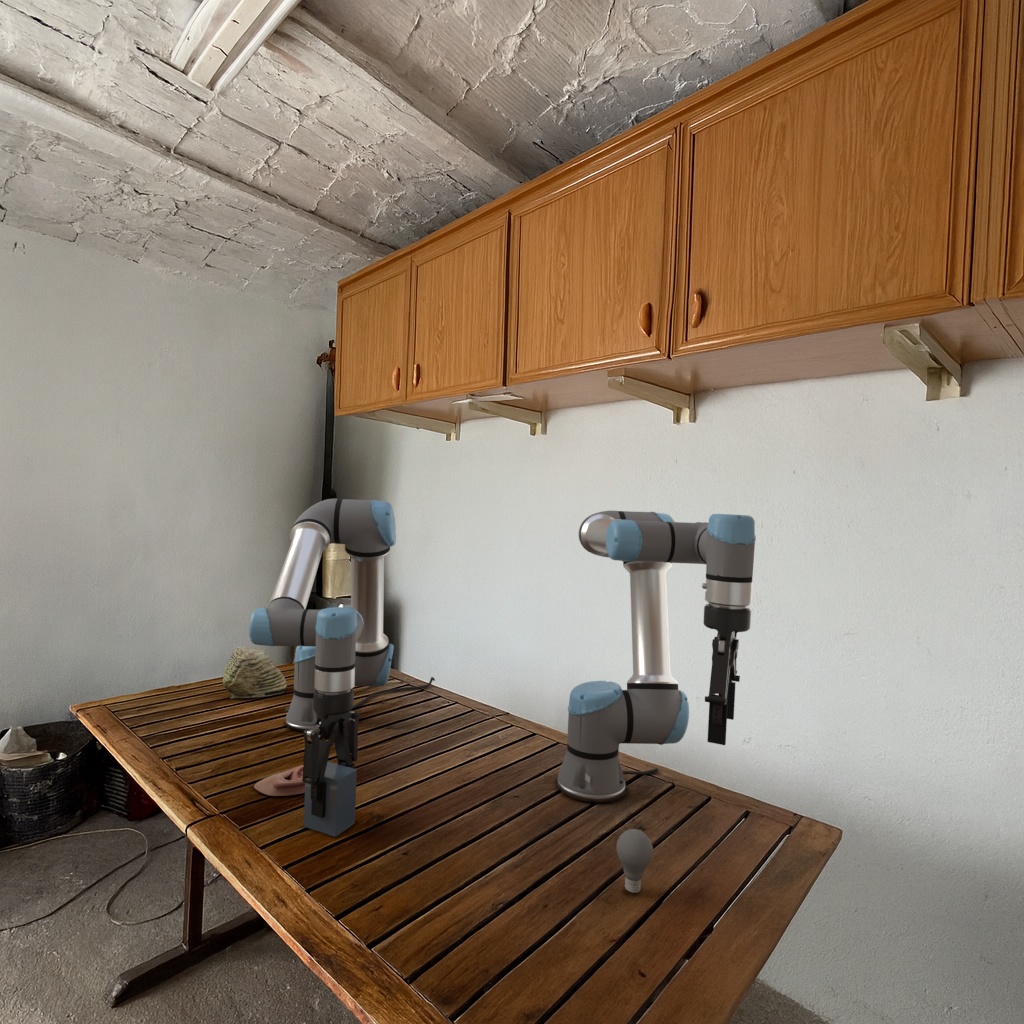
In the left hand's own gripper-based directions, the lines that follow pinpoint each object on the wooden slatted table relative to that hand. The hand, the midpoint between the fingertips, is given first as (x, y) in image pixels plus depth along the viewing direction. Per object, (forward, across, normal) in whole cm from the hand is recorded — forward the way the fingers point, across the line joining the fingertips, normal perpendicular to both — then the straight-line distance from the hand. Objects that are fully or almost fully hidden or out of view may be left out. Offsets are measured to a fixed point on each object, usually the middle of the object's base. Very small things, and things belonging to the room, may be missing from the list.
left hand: (329, 807), depth 123 cm
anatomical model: (+3, -9, -18) cm, 21 cm away
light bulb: (+3, -8, +58) cm, 58 cm away
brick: (+3, 0, 0) cm, 3 cm away
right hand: (-24, -16, +70) cm, 75 cm away
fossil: (+3, -50, -72) cm, 88 cm away
